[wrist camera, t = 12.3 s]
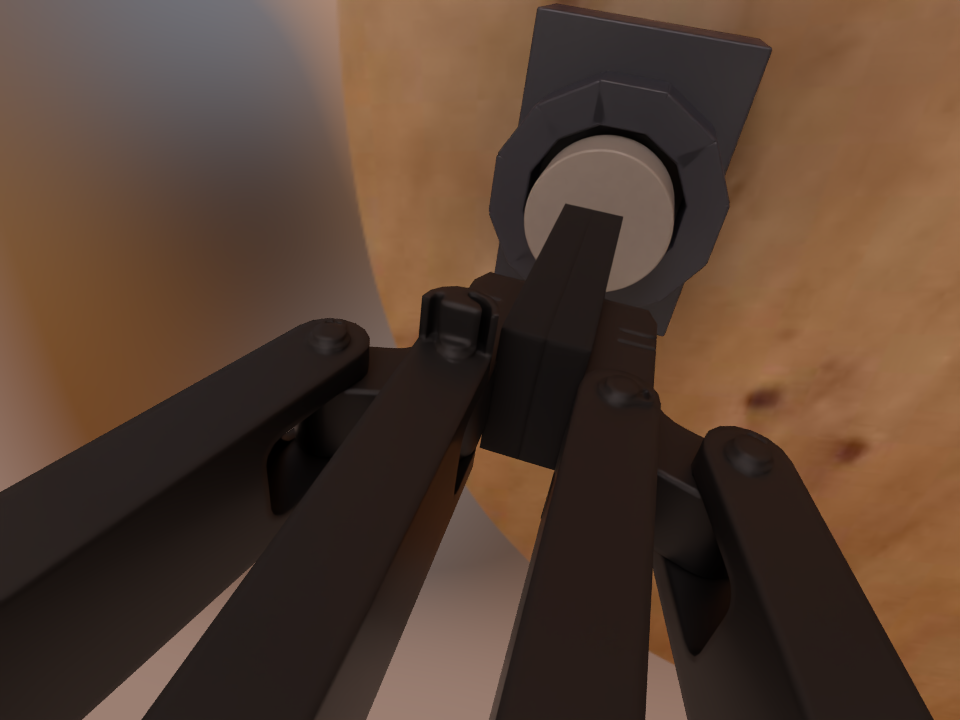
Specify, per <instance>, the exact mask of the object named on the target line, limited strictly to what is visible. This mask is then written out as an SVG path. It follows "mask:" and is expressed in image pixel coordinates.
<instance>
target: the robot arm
mask: <svg viewBox="0 0 960 720" xmlns="http://www.w3.org/2000/svg"><path fill="white" fill-rule="evenodd" d="M622 221H623V216H619V215H614V214H610V213H606V212H601V211H597V210H592V209H588V208H584V207H579V206H575V205H570V204H566V203H565V205H564V207H563V209H562V211H561V213H560V215H559V217H558V219H557V221H556V222H555V224H554V226H553V228H552V230H551V232H550V234H549V236H548V238H547V240H546V242H545V244H544V246H543V248H542V250H541V252H540V254H539V255H538V257H537V259H536V261H535V263H534V265H533V267H532V269H531V271H530V273H529V275H528V277H527V279H526V281H523V280H519V279H516V278H512V277H508V276H504V275H500V274H496V273H492V272H489V273H487V274H485V275H483V276H481V277H479V278H477V279H475V280H474V281H473V283H472V284H471V285H470V287H469V288H465V287H458V286H451V287H440V288H436V289H433V290H430V291H429V292H427V293H426V294H424V295H423V296H422V305H421V317H420V329H419V338H418V339H417V341H416V342H415V343H414V345H413V346H412V347H409V348H382V347H369V345H370V338H369V336H368V334H367V333H366V331H365V329H363V328H362V327H360V326H359V325H357V324H356V323H352V322H349V321H346V320H343V319H334V318H325V319H319V320H312V321H309V322H307V323H304V324H302V325H299V326H297V327H295V328H294V329H292V330H290V331H288V332H286V333H285V334H283V335H281V336H279V337H277V338H276V339H274V340H272V341H270V342H268V343H267V344H265V345H263V346H261V347H260V348H258V349H256V350H254V351H252V352H251V353H249V354H247V355H245V356H243V357H242V358H240V359H238V360H236V361H234V362H233V363H231V364H229V365H227V366H225V367H224V368H222V369H220V370H218V371H217V372H215V373H213V374H211V375H209V376H208V377H206V378H204V379H202V380H200V381H199V382H197V383H195V384H193V385H191V386H190V387H188V388H186V389H184V390H182V391H181V392H179V393H177V394H175V395H174V396H172V397H170V398H168V399H166V400H165V401H163V402H161V403H159V404H157V405H156V406H154V407H152V408H150V409H148V410H147V411H145V412H143V413H141V414H139V415H138V416H136V417H134V418H132V419H131V420H129V421H127V422H125V423H123V424H122V425H120V426H118V427H116V428H114V429H113V430H111V431H109V432H107V433H105V434H104V435H102V436H100V437H98V438H96V439H95V440H93V441H91V442H89V443H87V444H86V445H84V446H82V447H80V448H79V449H77V450H75V451H73V452H71V453H70V454H68V455H66V456H64V457H62V458H61V459H59V460H57V461H55V462H53V463H52V464H50V465H48V466H46V467H44V468H43V469H41V470H39V471H37V472H36V473H34V474H32V475H30V476H28V477H26V478H25V479H23V480H22V481H19V482H18V483H16V484H14V485H12V486H10V487H9V488H7V489H5V490H3V491H1V492H0V720H82V719H83V718H84V717H85V716H86V715H88V713H90V712H91V711H92V710H93V709H94V708H95V707H96V706H97V705H99V704H100V703H101V702H102V701H103V700H104V699H105V698H106V697H107V696H109V695H110V694H111V693H112V692H113V691H114V690H115V689H116V688H117V687H118V686H120V685H121V684H122V683H123V682H124V681H125V680H126V679H127V678H128V677H129V676H131V675H132V674H133V673H134V672H135V671H136V670H137V669H138V668H139V667H140V666H142V665H143V664H144V663H145V662H146V661H147V660H148V659H149V658H150V657H151V656H153V655H154V654H155V653H156V652H157V651H158V650H159V649H160V648H161V647H162V646H163V645H165V644H166V643H167V642H168V641H169V640H170V639H171V638H172V637H174V635H176V634H177V633H178V632H179V631H180V630H181V629H182V628H183V627H184V626H186V625H187V624H188V623H189V622H190V621H191V620H192V619H193V618H194V617H196V615H198V614H199V613H200V612H201V611H202V610H203V609H204V608H205V607H207V606H208V605H209V604H210V603H211V602H212V601H213V600H214V599H215V598H216V597H218V596H219V595H220V594H221V593H222V592H223V591H224V590H225V589H226V588H228V587H229V586H230V585H231V584H232V583H233V582H234V581H235V580H236V579H237V578H239V577H240V576H241V575H242V573H244V572H245V571H246V570H247V569H248V568H249V567H251V566H252V565H253V564H254V563H255V562H256V563H255V564H254V565H253V567H252V568H251V570H250V571H249V572H248V574H247V575H246V576H245V578H244V579H243V580H242V582H241V583H240V585H239V586H238V587H237V589H236V590H235V592H234V593H233V594H232V596H231V597H230V598H229V600H228V601H227V603H226V604H225V605H224V607H223V608H222V609H221V611H220V612H219V614H218V615H217V616H216V618H215V619H214V620H213V622H212V623H211V625H210V626H209V627H208V629H207V630H206V631H205V633H204V634H203V636H202V637H201V638H200V640H199V641H198V642H197V644H196V645H195V647H194V648H193V650H192V651H191V652H190V653H189V655H188V656H187V658H186V659H185V660H184V662H183V663H182V665H181V666H180V667H179V669H178V670H177V671H176V673H175V674H174V676H173V677H172V678H171V680H170V681H169V683H168V684H167V685H166V687H165V688H164V689H163V691H162V692H161V693H160V695H159V696H158V698H157V699H156V700H155V702H154V703H153V705H152V706H151V707H150V709H149V710H148V711H147V713H146V714H145V716H144V717H143V718H142V720H366V718H367V716H368V714H369V711H370V709H371V707H372V704H373V702H374V699H375V697H376V695H377V692H378V690H379V687H380V685H381V683H382V680H383V678H384V675H385V673H386V671H387V669H388V666H389V664H390V661H391V659H392V657H393V654H394V652H395V650H396V647H397V645H398V642H399V640H400V638H401V635H402V633H403V631H404V628H405V626H406V624H407V621H408V619H409V616H410V614H411V612H412V609H413V607H414V605H415V602H416V600H417V598H418V595H419V592H420V590H421V588H422V586H423V583H424V581H425V579H426V576H427V574H428V571H429V569H430V567H431V564H432V562H433V560H434V557H435V555H436V552H437V550H438V548H439V545H440V543H441V540H442V538H443V536H444V534H445V531H446V529H447V526H448V524H449V522H450V519H451V517H452V515H453V512H454V510H455V507H456V505H457V503H458V500H459V498H460V495H461V493H462V491H463V488H464V486H465V484H466V481H467V479H468V477H469V474H470V472H471V470H472V467H473V462H474V456H475V450H476V446H477V444H478V442H479V439H480V437H481V435H482V438H481V443H480V448H483V449H486V450H489V451H492V452H496V453H499V454H502V455H506V456H509V457H512V458H516V459H519V460H522V461H525V462H529V463H532V464H535V465H539V466H542V467H545V468H549V469H552V470H555V471H554V474H553V478H552V481H551V485H550V488H549V491H548V495H547V498H546V502H545V505H544V508H543V512H542V515H541V522H540V526H539V530H538V534H537V538H536V541H535V545H534V549H533V553H532V557H531V561H530V564H529V568H528V572H527V576H526V580H525V583H524V588H523V591H522V595H521V599H520V603H519V606H518V610H517V614H516V618H515V622H514V626H513V629H512V633H511V637H510V641H509V645H508V649H507V653H506V656H505V660H504V664H503V668H502V672H501V675H500V679H499V683H498V687H497V691H496V695H495V698H494V702H493V706H492V710H491V714H490V718H489V720H645V712H646V692H647V672H648V652H649V632H650V611H651V591H652V571H654V575H655V579H656V584H657V588H658V592H659V597H660V601H661V606H662V610H663V614H664V619H665V623H666V627H667V632H668V636H669V641H670V645H671V649H672V654H673V658H674V663H675V667H676V671H677V676H678V680H679V684H680V688H681V693H682V698H683V702H684V706H685V711H686V715H687V719H688V720H934V719H933V718H932V716H931V714H930V712H929V710H928V709H927V707H926V705H925V703H924V701H923V699H922V698H921V696H920V694H919V692H918V690H917V689H916V687H915V685H914V683H913V681H912V679H911V678H910V676H909V674H908V672H907V670H906V669H905V667H904V665H903V663H902V661H901V659H900V658H899V656H898V654H897V652H896V650H895V648H894V647H893V645H892V643H891V641H890V639H889V638H888V636H887V634H886V632H885V630H884V628H883V627H882V625H881V623H880V621H879V619H878V618H877V616H876V614H875V612H874V610H873V608H872V607H871V605H870V603H869V601H868V599H867V598H866V596H865V594H864V592H863V590H862V588H861V587H860V585H859V583H858V581H857V579H856V578H855V576H854V574H853V572H852V570H851V568H850V567H849V565H848V563H847V561H846V559H845V558H844V556H843V554H842V552H841V550H840V548H839V547H838V545H837V543H836V541H835V539H834V538H833V536H832V534H831V532H830V530H829V528H828V527H827V525H826V523H825V521H824V519H823V518H822V516H821V514H820V512H819V510H818V508H817V507H816V505H815V503H814V501H813V499H812V498H811V496H810V494H809V492H808V490H807V488H806V487H805V485H804V483H803V481H802V479H801V478H800V476H799V474H798V472H797V470H796V468H795V467H794V465H793V463H792V461H791V460H790V459H789V458H788V456H787V455H786V454H785V452H784V451H783V450H782V449H781V448H780V447H778V446H777V445H776V444H774V443H773V442H772V441H770V440H769V439H768V438H766V437H764V436H762V435H760V434H758V433H756V432H753V431H751V430H747V429H744V428H740V427H736V426H719V427H717V428H714V429H712V430H709V431H708V433H707V434H706V436H705V438H703V437H701V436H699V435H697V434H695V433H693V432H691V431H689V430H687V429H685V428H684V427H682V426H680V425H678V424H677V423H675V422H674V421H672V420H671V419H670V418H669V417H668V416H666V415H665V414H664V413H663V411H662V410H661V403H660V399H659V395H658V393H657V392H656V391H655V390H654V389H653V387H654V371H655V356H656V351H655V350H656V338H657V325H658V324H657V323H656V321H655V320H654V318H653V317H652V315H651V313H650V312H649V310H645V309H642V308H638V307H634V306H630V305H626V304H622V303H618V302H614V301H610V300H606V299H604V297H605V292H606V288H607V284H608V280H609V276H610V271H611V267H612V263H613V259H614V255H615V250H616V246H617V242H618V238H619V234H620V229H621V225H622ZM293 427H294V428H293ZM292 428H293V429H292ZM289 430H290V431H289ZM288 431H289V432H288Z"/></svg>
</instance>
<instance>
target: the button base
mask: <svg viewBox="0 0 960 720" xmlns="http://www.w3.org/2000/svg"><path fill="white" fill-rule="evenodd" d="M771 52H772V48H771V47H770V46H768V45H767V44H766V43H764V42H763V41H762V40H761V39H758V38H752V37H746V36H740V35H734V34H729V33H723V32H717V31H711V30H706V29H700V28H694V27H688V26H683V25H677V24H671V23H665V22H660V21H654V20H648V19H642V18H637V17H631V16H625V15H619V14H614V13H608V12H602V11H596V10H591V9H585V8H579V7H573V6H567V5H562V4H552V5H546V6H541V7H538V9H537V13H536V20H535V26H534V32H533V38H532V44H531V50H530V57H529V63H528V69H527V75H526V81H525V88H524V94H523V100H522V106H521V112H520V118H519V125H518V128H517V129H516V130H515V131H514V133H513V134H512V135H511V137H510V138H509V139H508V140H507V142H506V143H505V144H504V145H503V147H502V148H501V149H500V151H499V152H498V155H497V157H496V164H495V171H494V178H493V184H492V191H491V198H490V205H489V212H490V213H489V215H490V218H491V220H492V223H493V226H494V228H495V231H496V234H497V236H498V239H499V248H498V254H497V261H496V267H495V273H496V274H500V275H504V276H508V277H512V278H516V279H519V280H523V281H526V279H527V277H528V275H529V273H530V271H531V269H532V267H533V265H534V263H535V261H536V259H535V258H534V256H533V254H532V253H531V250H530V248H529V246H528V243H527V239H526V236H525V230H524V212H525V206H526V202H527V199H528V196H529V194H530V191H531V189H532V188H533V186H534V184H535V182H536V181H537V180H538V178H539V177H540V175H541V174H542V173H543V171H544V170H545V169H546V167H547V166H548V164H549V163H550V162H551V160H552V159H553V158H554V157H555V156H556V155H557V154H558V153H559V152H561V151H562V150H563V149H564V148H566V147H567V146H569V145H571V144H572V143H574V142H576V141H579V140H581V139H583V138H587V137H591V136H596V135H617V136H623V137H626V138H630V139H632V140H635V141H637V142H639V143H641V144H643V145H644V146H646V147H647V148H649V149H650V150H651V151H652V152H653V153H655V154H656V156H657V157H658V158H659V159H660V160H661V161H662V163H663V164H664V166H665V167H666V169H667V171H668V173H669V175H670V178H671V181H672V184H673V189H674V202H675V205H674V226H673V234H672V237H671V241H670V244H669V246H668V249H667V251H666V253H665V254H664V256H663V258H662V259H661V261H660V262H659V263H658V265H657V266H656V267H655V268H654V269H653V270H652V271H651V272H650V273H649V274H648V275H646V276H645V277H644V278H642V279H641V280H639V281H637V282H636V283H634V284H632V285H630V286H627V287H625V288H622V289H618V290H614V291H608V292H605V297H604V299H606V300H610V301H614V302H618V303H622V304H626V305H630V306H634V307H638V308H642V309H645V310H649V312H650V313H651V315H652V317H653V318H654V320H655V321H656V323H657V324H658V325H657V335H659V336H664V335H665V333H666V330H667V327H668V325H669V322H670V319H671V317H672V314H673V311H674V309H675V306H676V303H677V301H678V298H679V295H680V293H681V290H682V288H683V285H684V282H686V281H687V280H688V279H689V278H691V277H692V276H693V275H694V274H696V273H697V272H698V271H699V270H700V269H702V268H703V267H704V266H705V265H706V264H707V263H708V260H709V258H710V255H711V252H712V250H713V247H714V245H715V242H716V240H717V237H718V235H719V232H720V230H721V227H722V225H723V222H724V220H725V217H726V215H727V212H728V209H729V203H730V202H729V197H728V192H727V187H726V181H725V174H726V171H727V169H728V166H729V163H730V161H731V158H732V155H733V153H734V150H735V147H736V145H737V142H738V139H739V137H740V134H741V132H742V129H743V126H744V124H745V121H746V118H747V116H748V113H749V110H750V108H751V105H752V102H753V100H754V97H755V95H756V92H757V89H758V87H759V84H760V81H761V79H762V76H763V73H764V71H765V68H766V65H767V63H768V60H769V58H770V55H771Z"/></svg>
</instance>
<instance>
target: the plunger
mask: <svg viewBox="0 0 960 720" xmlns="http://www.w3.org/2000/svg"><path fill="white" fill-rule="evenodd" d="M565 203H566V204H570V205H575V206H579V207H584V208H588V209H592V210H597V211H601V212H606V213H610V214H614V215H619V216H623V221H622V225H621V229H620V234H619V238H618V242H617V246H616V250H615V255H614V259H613V263H612V267H611V271H610V276H609V280H608V284H607V288H606V292H608V291H614V290H618V289H622V288H625V287H627V286H630V285H632V284H634V283H636V282H637V281H639V280H641V279H642V278H644V277H645V276H646V275H648V274H649V273H650V272H651V271H652V270H653V269H654V268H655V267H656V266H657V265H658V263H659V262H660V261H661V259H662V258H663V256H664V254H665V253H666V251H667V249H668V246H669V244H670V241H671V237H672V234H673V226H674V205H675V202H674V189H673V184H672V181H671V178H670V175H669V173H668V171H667V169H666V167H665V166H664V164H663V163H662V161H661V160H660V159H659V158H658V157H657V156H656V154H655V153H653V152H652V151H651V150H650V149H649V148H647V147H646V146H644V145H643V144H641V143H639V142H637V141H635V140H632V139H630V138H626V137H623V136H617V135H596V136H591V137H587V138H583V139H581V140H579V141H576V142H574V143H572V144H571V145H569V146H567V147H566V148H564V149H563V150H562V151H561V152H559V153H558V154H557V155H556V156H555V157H554V158H553V159H552V160H551V162H550V163H549V164H548V166H547V167H546V169H545V170H544V171H543V173H542V174H541V175H540V177H539V178H538V180H537V181H536V182H535V184H534V186H533V188H532V189H531V191H530V194H529V196H528V199H527V202H526V206H525V212H524V230H525V236H526V239H527V243H528V246H529V248H530V250H531V253H532V254H533V256H534V258H535V259H537V257H538V255H539V254H540V252H541V250H542V248H543V246H544V244H545V242H546V240H547V238H548V236H549V234H550V232H551V230H552V228H553V226H554V224H555V222H556V221H557V219H558V217H559V215H560V213H561V211H562V209H563V207H564V205H565Z"/></svg>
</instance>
